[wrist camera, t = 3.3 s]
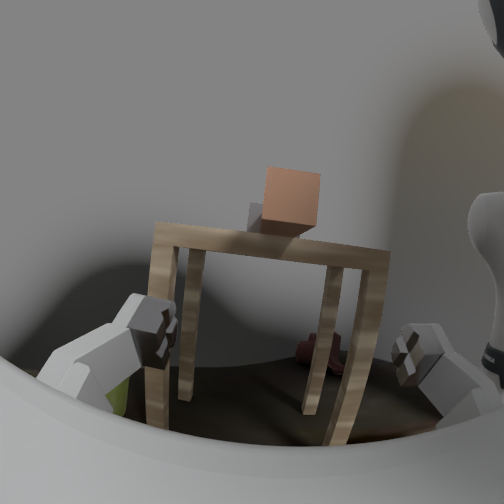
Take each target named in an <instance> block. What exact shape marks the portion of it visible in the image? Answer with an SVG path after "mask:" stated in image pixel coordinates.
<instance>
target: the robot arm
mask: <svg viewBox="0 0 504 504" xmlns="http://www.w3.org/2000/svg"><path fill="white" fill-rule="evenodd" d="M478 6H479V12H480V16H481V19H482V21H483V24H484V26H485V29H486V30H487V32H488V34H489V36H490V38H491V40H492V42H493V45H494V47H495V48H496V49H497V51H498V52H499V53H500V55H501V56H502V57H503V58H504V0H478ZM468 232H469V237H470V240H471V242H472V244H473V246H474V248H475V249H476V251H477V252H478V253H479V254H480V255H481V256H482V258H483V259H484V260H485V262H486V263H487V265H488V267H489V269H490V271H491V274H492V277H493V280H494V284H495V290H496V307H495V316H494V323H493V328H492V333H491V338H490V342H489V343H488V344H487V346H486V349H485V350H484V353H483V357H482V360H481V361H482V363H481V364H480V365H479V366H478V367H477V368H476V367H475V366H474V365H472V364H471V363H470V362H469V361H467V360H466V359H465V358H464V357H463V356H461V355H460V354H459V353H455V352H454V350H453V348H452V346H451V344H450V342H449V340H448V339H447V337H446V335H445V333H444V331H443V329H442V328H441V326H440V325H439V324H437V323H434V324H406V325H405V326H403V328H402V330H401V336H400V337H399V338H398V339H396V340H395V342H394V344H393V346H392V351H391V359H392V362H393V364H394V365H395V366H396V367H397V368H398V369H397V372H396V374H397V377H398V380H399V383H400V387H403V386H416V385H418V387H419V388H420V390H421V391H422V392H423V393H424V394H425V395H426V397H427V398H428V399H429V400H430V401H431V403H432V404H433V405H434V406H435V407H436V408H437V410H438V411H439V412H440V413H441V414H442V416H443V417H444V418H443V419H441V420H440V421H439V422H438V423H437V424H436V426H435V427H436V430H434V431H430V432H426V433H422V434H417V435H413V436H408V437H403V438H397V439H391V440H385V441H378V442H371V443H362V444H352V445H340V446H318V447H289V446H267V445H254V444H244V443H235V442H227V441H220V440H214V439H208V438H202V437H197V436H192V435H187V434H182V433H178V432H173V431H169V430H165V429H161V428H157V427H154V426H150V425H147V424H143V423H140V422H137V421H133V420H130V419H127V418H124V417H121V416H118V415H116V414H113V410H114V409H113V407H112V405H111V403H110V402H109V400H108V399H107V397H106V396H105V395H106V394H107V393H109V392H110V391H111V390H112V389H114V388H115V387H116V386H117V385H119V384H120V383H121V382H123V381H124V380H125V379H126V378H128V377H129V376H130V375H132V374H133V373H134V372H135V371H137V370H138V369H139V368H140V367H141V365H142V366H146V367H151V368H155V369H160V370H165V368H166V365H167V363H168V360H169V357H170V352H169V349H170V348H171V347H173V346H174V344H175V341H176V336H177V331H178V323H177V319H176V318H175V317H174V314H175V312H176V306H175V302H174V301H170V300H165V299H160V298H155V297H150V296H144V295H139V294H135V293H133V294H131V295H130V296H129V298H128V299H127V301H126V302H125V304H124V305H123V307H122V308H121V310H120V311H119V313H118V314H117V316H116V318H115V319H114V321H113V322H112V324H110V323H107V324H105V325H103V326H101V327H99V328H97V329H95V330H93V331H92V332H89V333H88V334H86V335H84V336H82V337H80V338H78V339H76V340H74V341H72V342H70V343H68V344H66V345H64V346H62V347H60V348H58V349H56V350H55V351H54V352H53V353H52V354H51V356H50V358H49V359H48V361H47V362H46V364H45V365H44V367H43V368H42V370H41V371H40V373H39V375H38V376H37V378H34V377H32V376H31V375H29V374H27V373H26V372H24V371H22V370H21V369H19V368H17V367H16V366H14V365H13V364H11V363H9V362H8V361H7V360H5V359H3V358H2V357H1V356H0V504H504V192H494V193H486V194H480V195H479V196H478V197H477V198H476V199H475V201H474V202H473V204H472V206H471V208H470V211H469V216H468Z"/></svg>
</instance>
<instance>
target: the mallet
mask: <svg viewBox="0 0 504 504" xmlns="http://www.w3.org/2000/svg"><path fill="white" fill-rule="evenodd" d="M319 186H320V174H317V173H311V172H305V171H298V170H292V169H284V168H276V167H269V166H268V169H267V177H266V186H265V193H264V201H263V204H258V203H250V209H249V216H248V224H247V232H252V233H260V234H268V235H276V236H284V237H292V238H299V236H300V234H302V233H304V232H306V231H308V230H309V229H311V228H313V227H315V226H316V221H317V210H318V199H319Z"/></svg>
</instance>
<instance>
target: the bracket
mask: <svg viewBox="0 0 504 504" xmlns="http://www.w3.org/2000/svg"><path fill="white" fill-rule="evenodd" d="M340 341H341V335H339V334H338V333H337V332H335V331H334V334H333V340H332V345H331V350H330V355H329V359H328V364H327V365H328V366H329V367H330V368H331V370H332V371H333V372H334V373H335V374H338V375H343V372H344V368H345V365H344V366H343V365H342V364H341V363H340V360H339V350H340ZM315 342H316V334H315V333H310V334H309V338H308V341H300V342H299V343H298V345H297V348H296V360H297V362H298V363H307V364H311V363H312V358H313V352H314V347H315Z"/></svg>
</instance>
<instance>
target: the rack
mask: <svg viewBox="0 0 504 504" xmlns="http://www.w3.org/2000/svg"><path fill="white" fill-rule="evenodd" d="M179 247H183V248H190V249H189V257H188V266H187V274H186V284H185V294H184V305H183V316H182V328H181V343H180V360H179V381H178V399H180V400H184V401H189V402H190V401H191V398H192V396H193V382H194V366H195V353H196V340H197V329H198V318H199V307H200V297H201V288H202V279H203V270H204V262H205V254H206V251H214V252H222V253H230V254H238V255H245V256H253V257H262V258H270V259H278V260H286V261H294V262H302V263H310V264H318V265H327V271H326V279H325V286H324V293H323V300H322V306H321V313H320V319H319V325H318V331H317V336H316V342H315V347H314V352H313V358H312V363H311V368H310V372H309V377H308V382H307V386H306V391H305V395H304V399H303V404H302V408H301V409H302V413H303V415H315V413H316V409H317V406H318V402H319V398H320V394H321V390H322V386H323V382H324V377H325V373H326V369H327V364H328V359H329V355H330V350H331V345H332V340H333V334H334V328H335V323H336V317H337V312H338V305H339V299H340V292H341V285H342V278H343V269H344V268H352V269H361V270H362V275H361V282H360V289H359V296H358V303H357V309H356V315H355V320H354V326H353V331H352V337H351V341H350V346H349V351H348V355H347V360H346V364H345V368H344V372H343V377H342V381H341V384H340V388H339V392H338V396H337V399H336V403H335V406H334V410H333V413H332V417H331V420H330V423H329V426H328V429H327V432H326V435H325V438H324V441H323V444H322V446H340V445H346V442H347V440H348V437H349V434H350V432H351V429H352V426H353V423H354V420H355V418H356V415H357V412H358V408H359V405H360V402H361V399H362V396H363V392H364V389H365V385H366V382H367V378H368V375H369V371H370V367H371V363H372V359H373V355H374V350H375V346H376V341H377V337H378V332H379V327H380V322H381V316H382V310H383V305H384V298H385V292H386V285H387V278H388V269H389V260H390V251H384V250H377V249H370V248H364V247H357V246H350V245H343V244H335V243H328V242H322V241H314V240H306V239H299V238H292V237H284V236H276V235H268V234H260V233H252V232H244V231H236V230H227V229H219V228H210V227H201V226H192V225H183V224H174V223H164V222H156V225H155V233H154V240H153V248H152V256H151V265H150V275H149V286H148V296H150V297H155V298H160V299H165V300H170V301H174V290H175V280H176V271H177V262H178V253H179ZM169 352H170V349H169ZM169 366H170V357H169V360H168V363H167V365H166V368H165V370H160V369H155V368H151V367H146V366H145V400H146V421H147V425H150V426H154V427H157V428H161V429H165V430H169Z"/></svg>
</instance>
